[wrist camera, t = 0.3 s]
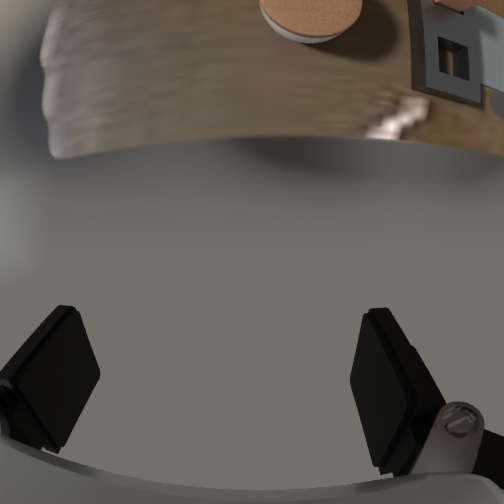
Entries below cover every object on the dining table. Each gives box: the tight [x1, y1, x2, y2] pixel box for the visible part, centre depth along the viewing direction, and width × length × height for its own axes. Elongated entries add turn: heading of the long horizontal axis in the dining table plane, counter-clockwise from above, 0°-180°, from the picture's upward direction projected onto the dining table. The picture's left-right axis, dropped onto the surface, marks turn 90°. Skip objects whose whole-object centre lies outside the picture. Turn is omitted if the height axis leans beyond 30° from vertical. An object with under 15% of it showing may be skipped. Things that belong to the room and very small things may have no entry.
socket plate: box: [407, 0, 481, 104], centre depth 27 cm, size 20×9×4 cm, turn 179°
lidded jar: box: [259, 0, 362, 43], centre depth 25 cm, size 11×11×9 cm
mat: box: [473, 5, 504, 93], centre depth 28 cm, size 14×12×1 cm
